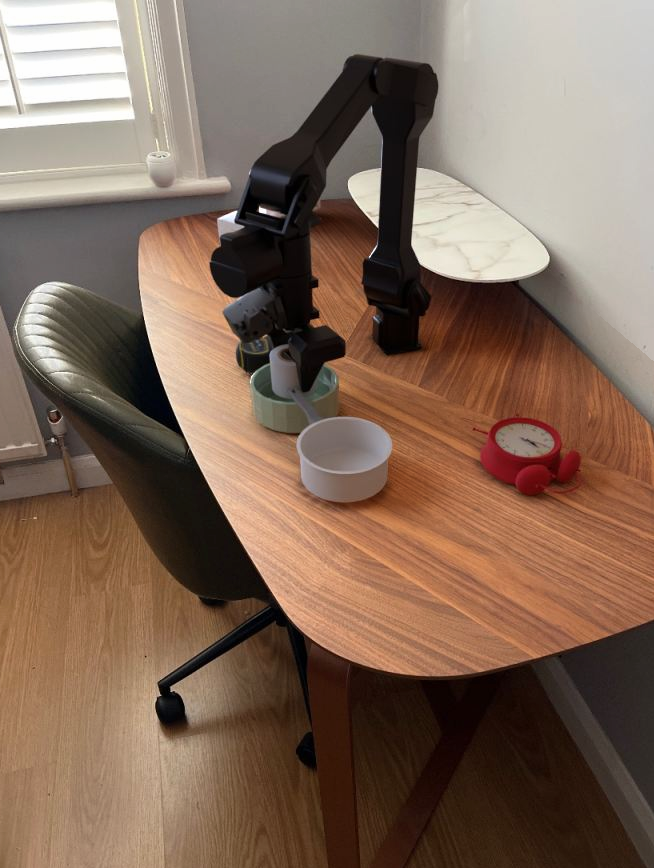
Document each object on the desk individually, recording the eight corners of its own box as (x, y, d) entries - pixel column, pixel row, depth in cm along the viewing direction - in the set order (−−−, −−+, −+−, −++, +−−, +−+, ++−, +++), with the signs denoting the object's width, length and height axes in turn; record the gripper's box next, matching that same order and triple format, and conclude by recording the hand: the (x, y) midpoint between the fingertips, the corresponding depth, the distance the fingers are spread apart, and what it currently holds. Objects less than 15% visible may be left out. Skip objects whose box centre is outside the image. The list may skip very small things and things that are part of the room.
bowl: (323, 383, 111) (322, 353, 107) (350, 426, 102) (350, 394, 99) (244, 397, 107) (241, 366, 104) (265, 443, 99) (262, 411, 96)
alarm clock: (524, 405, 100) (607, 439, 88) (524, 447, 103) (604, 486, 91) (461, 425, 96) (539, 464, 84) (463, 469, 99) (538, 512, 87)
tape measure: (286, 375, 112) (285, 352, 110) (241, 381, 111) (239, 358, 108) (276, 353, 117) (275, 331, 115) (233, 359, 116) (231, 337, 113)
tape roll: (309, 372, 105) (308, 339, 102) (323, 394, 101) (322, 360, 98) (267, 380, 104) (264, 346, 100) (279, 402, 99) (276, 368, 96)
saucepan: (329, 410, 104) (328, 376, 100) (408, 491, 92) (411, 454, 88) (253, 434, 100) (250, 399, 96) (326, 522, 87) (325, 485, 83)
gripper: (198, 255, 94) (213, 365, 104) (259, 313, 82) (269, 430, 92) (278, 239, 99) (285, 346, 109) (347, 292, 87) (348, 406, 97)
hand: (294, 380), depth 102 cm, fingers closed on tape roll, 6 cm apart
